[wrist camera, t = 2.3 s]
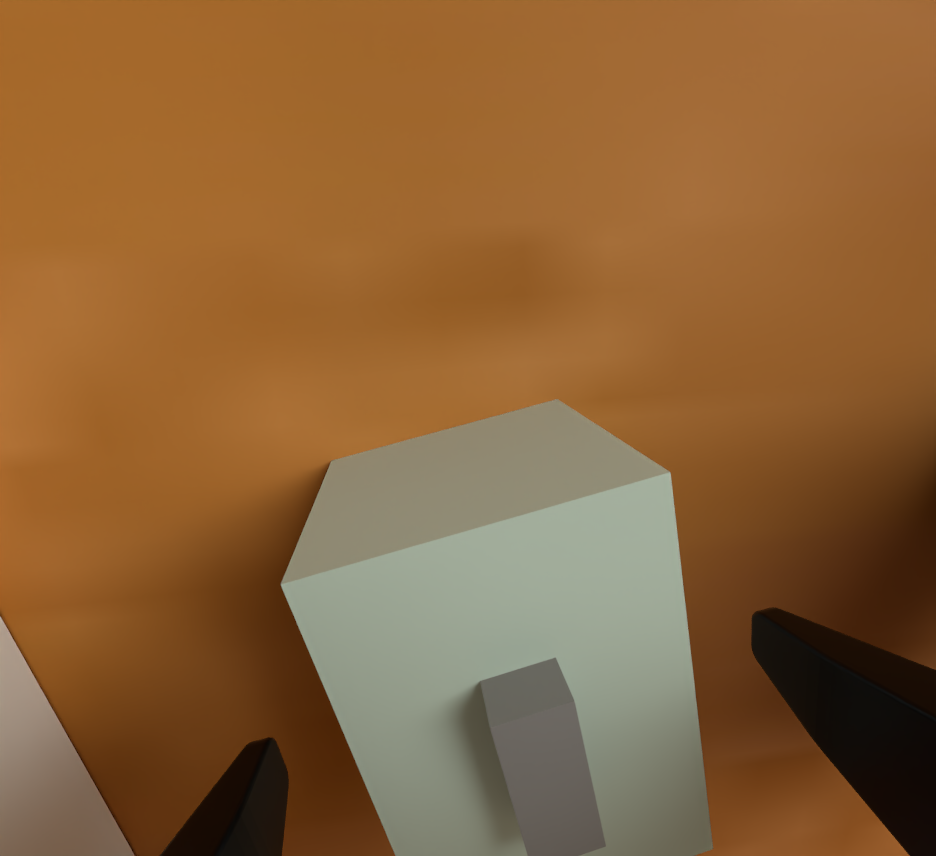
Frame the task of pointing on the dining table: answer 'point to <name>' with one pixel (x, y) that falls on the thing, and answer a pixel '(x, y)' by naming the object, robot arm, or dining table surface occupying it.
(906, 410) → the dining table surface
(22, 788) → the cleat board
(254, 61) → the dining table surface
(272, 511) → the dining table surface
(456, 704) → the cabinet block
